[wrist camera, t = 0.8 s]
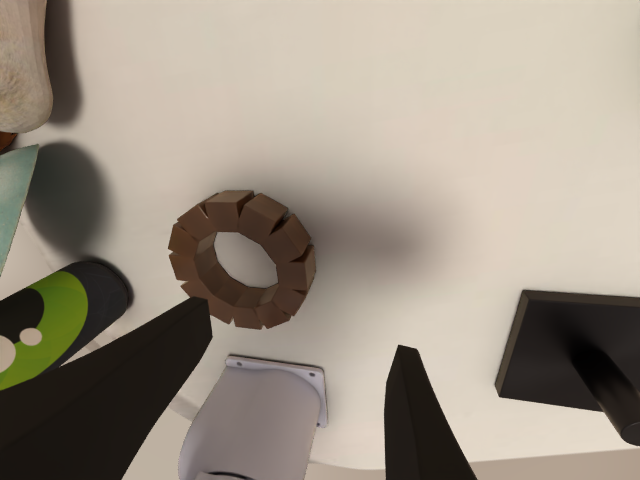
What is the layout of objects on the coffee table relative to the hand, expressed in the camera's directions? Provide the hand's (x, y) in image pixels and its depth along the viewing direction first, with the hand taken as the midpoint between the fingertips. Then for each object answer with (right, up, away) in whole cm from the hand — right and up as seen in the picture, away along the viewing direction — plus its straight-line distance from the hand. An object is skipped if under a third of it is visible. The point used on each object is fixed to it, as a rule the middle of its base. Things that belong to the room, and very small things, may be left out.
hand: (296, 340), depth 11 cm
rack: (+18, -4, +9) cm, 21 cm away
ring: (-4, +3, +11) cm, 12 cm away
